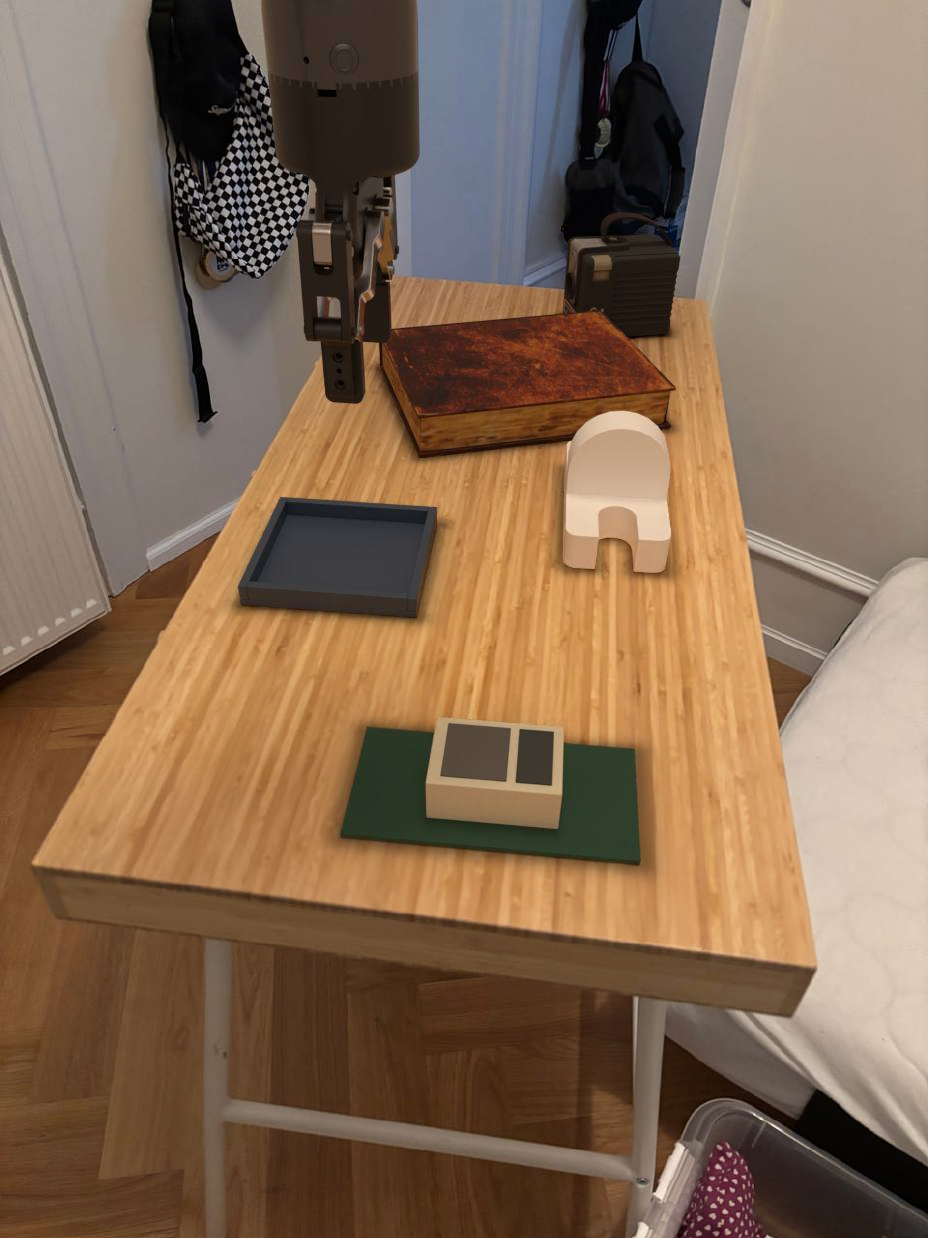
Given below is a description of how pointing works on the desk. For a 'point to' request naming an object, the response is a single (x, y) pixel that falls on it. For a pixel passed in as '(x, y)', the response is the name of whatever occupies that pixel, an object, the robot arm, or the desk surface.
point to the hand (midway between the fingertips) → (360, 368)
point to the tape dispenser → (617, 490)
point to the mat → (588, 823)
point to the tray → (341, 557)
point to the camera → (623, 278)
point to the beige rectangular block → (495, 773)
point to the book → (516, 380)
